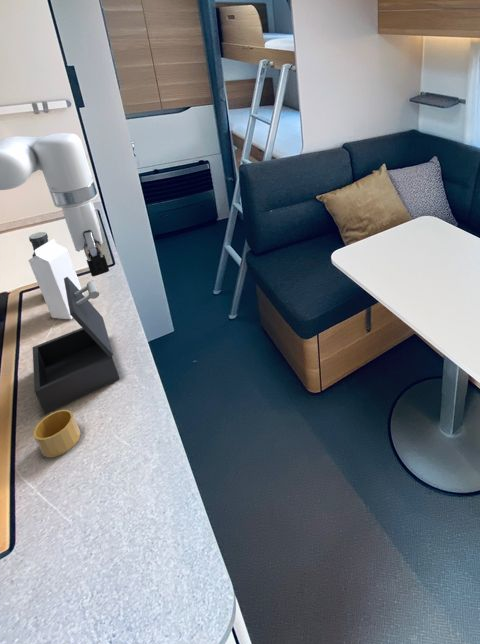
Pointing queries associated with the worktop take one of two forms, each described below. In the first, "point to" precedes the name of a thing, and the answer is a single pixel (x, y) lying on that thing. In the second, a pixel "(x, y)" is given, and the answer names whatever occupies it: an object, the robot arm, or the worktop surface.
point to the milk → (54, 277)
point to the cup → (57, 433)
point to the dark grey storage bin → (70, 369)
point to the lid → (88, 313)
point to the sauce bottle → (38, 240)
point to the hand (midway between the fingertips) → (97, 263)
